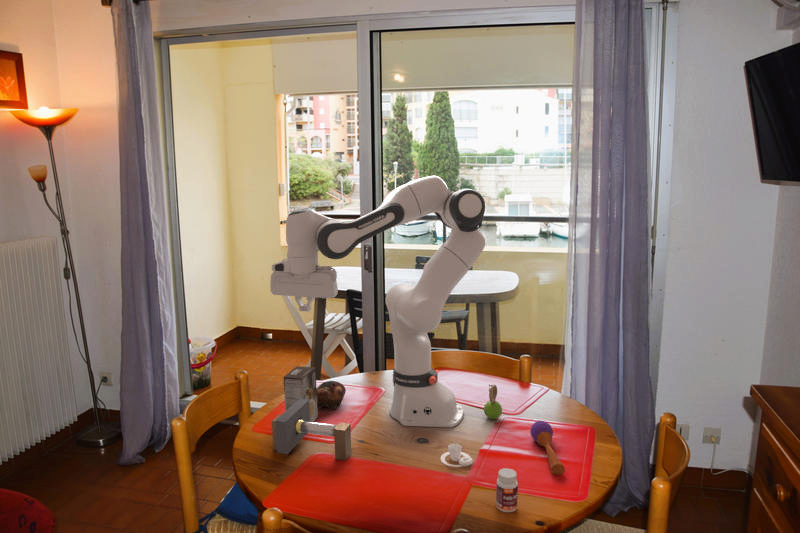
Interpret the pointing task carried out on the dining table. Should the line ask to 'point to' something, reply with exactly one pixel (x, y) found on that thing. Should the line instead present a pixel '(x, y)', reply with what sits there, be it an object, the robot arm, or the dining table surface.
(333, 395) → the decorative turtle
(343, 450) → the rod stand
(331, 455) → the dining table surface
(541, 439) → the purple and brown maraca
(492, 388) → the green feathered ball toy
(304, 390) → the coffee box
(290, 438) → the grey flat block
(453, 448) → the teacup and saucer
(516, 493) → the pill bottle
